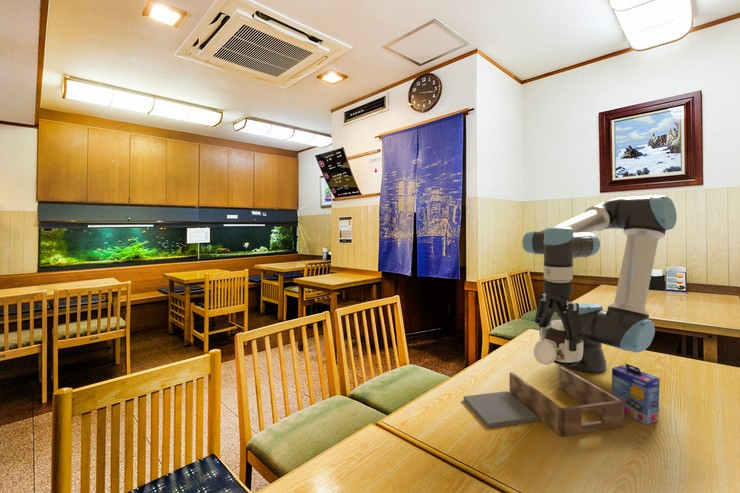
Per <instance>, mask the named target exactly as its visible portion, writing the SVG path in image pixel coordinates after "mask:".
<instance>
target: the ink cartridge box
mask: <svg viewBox="0 0 740 493" xmlns="http://www.w3.org/2000/svg"><path fill="white" fill-rule="evenodd" d="M660 381H661V380H660V378H659V377H658V376H655V375H652V374H650V373H647V372H644V371H641V370H640V368H639V367H638V366H633V365H631V364H628V363H625V365H624V364H623V365H619V366H615V367H613V368H611V394H612V395H613V396H615V397H617V398H619V399H621V400H622V401H624V415H626V416H628V417H630V418H632V419H634V420H636V421H639V422H640V423H641V424H644V425H649V424H652V423H655V422H658V421H659V412H660V403H659V402H660Z"/></svg>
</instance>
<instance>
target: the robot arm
mask: <svg viewBox="0 0 740 493" xmlns="http://www.w3.org/2000/svg"><path fill="white" fill-rule="evenodd" d="M677 216H678V215H677V210H676V206H675V203H674V202H673V200H672V199H671V198H670V197H669V196H668V195H655V194H651V195H642V196H641V195H640V196H628V197H624V196H623V197H616V198H615V197H614V198H611V199H608V200H605V201H603V202H599V203H597V204H594V205H592V206H590V207H588V208H587V209H586V210H584V212H583V213H581V214H580V213H579V214H577V215H576V216H572V217H571V218H570V219H566V220H564V221H562V222H559V223H557V224H555V225H553V226H551V227H547V228H545V229H544V230H540V231H528V232H526V233H525V234H524V235H523V238H522V242H521V243H522V248H523V250H524V251H525V252H526V253H529V254H534V255H542V256H543V279H544V280H543V287H542V288H543V289H542V290H543V293H540V294H538V303H537V304H538V305H537V308H536V313H535V318H534V323H535V324H537V325H538V327H539V339H540V340H539V341H541V340H544V337H545V333H546V332H547V330H548V329H549V328H551V324H550V323H551V321H552V320H551V319H552V318H553V315H554V313H557V316H558V317H559V318H560V320H562V323H563V326H564V329H565V332H566V335H567V338H566V339H565V362H573V361H575V351H576V350H577V348H576V347H577V340H579V339H583V356H582V359H581V361H580V362H579V363H577V364H575V365H572V366H565V367H567V368H569V369H571V370H575V371H578V372H583V373H584V372H585V373H602V372H605V371H606V370H607V365H608V364H607V360H606V357H605V354H604V351H603V348H602V344H603V345H606V346H609V347H613V348H616V349H619V350H622V351H628V352H631V353H637V354H638V353H642V352H644V351H645V350H646V349H647V348H649V347H650V345H651V343H652V342H653V339H654V337H655V333H656V328H655V327H656V326H655V323H654V322H653V321H652V320H651V319H649V317H650V313H648V311H647V310H646V305H647V304H646V303H647V299H648V294H649V289H650V283H651V278H652V273H653V268H654V264H655V263H654V262H655V258H656V252H657V248H658V243H659V240H661V239H662V238H665V235H666V231H670V230H673V229H674V228H675V226H676V223H677ZM608 229H609V230H610V229H612V230H613V229H618V230H621V229H622V231H623V232H622V233H624V234H625V235H626V243H625V248H624V251H623V258H622V262H621V267H620V272H619V276H618V282H617V287H616V291H615V297H614V301H613V302H612V303H611V304H609V305H608V306H607V308H606V309H607V310H604V308H603V305H601V304H598V303H589V302H587V303H586V302H585V303H578V302H571V299H570V296H571V295H572V294H573V284H574V283H573V282H572V280H574V279H573V278H574V264H573V263H574V259H579V258H589V257H591V256H594V255H596V254H598V252H599V251H600V248H601V242H600V241H601V240H600V239H599V237H598V236H597V234H595V233H593V232H601V231H604V230H608ZM571 334H572V335H571Z"/></svg>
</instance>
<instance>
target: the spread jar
mask: <svg viewBox="0 0 740 493" xmlns="http://www.w3.org/2000/svg"><path fill="white" fill-rule="evenodd" d="M571 335H572V334H571ZM566 338H567V335H566V332H565V329H564V326H563V323H562V320H561V319H553V320H550V328H549V329H548V330H547V332H546V333H545V337H544V340H541V341H540V340H539V341H537V342H536V344H535V345H534V347H533V356H534V359H535V360H536V361H537V363H539V364H542V365H552V364H553V363H554V364H556V365H559V366H565V367H566V366H572V365H575V364H577V363H579V362H580V361H581V359H582V356H583V339H579V340H577V347H576V348H577V350H576V351H575V361H573V362H565V339H566Z"/></svg>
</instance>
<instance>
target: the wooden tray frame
mask: <svg viewBox="0 0 740 493" xmlns="http://www.w3.org/2000/svg"><path fill="white" fill-rule="evenodd" d="M558 369H559V370H558V373H559V374H558V388H559V389H560V390H562V391H563V392H565V393H567V394H568V395H570V396H571V397H573V398H575V399H576V400H577V401H579V402H580V403H581V404H580V405H573V406H566V407H565V406H564V407H562V406H560V405H558V404H557V402H555V401H553V400H552V399H550V398H549V397H548V396H546V395H545V394H544V393H542V392H541V391H539V390H538V389H536V388H535V387H533V385H531V384H530V383H528V382H527V381H526V380H524V379H523V378H521V377H520V376H518V375H517V374H516V373H514V372H513V371H510V372H509V382H508V383H509V385H508V386H509V390H508V392H509V393H510V394H512V395H513V396H514V397H515V398H516V399H518V400H519V401H520V402H521V403H522V404H524V405H525V406H526V407H527V408H528V409H530V410H531V411H532V412H533V413H535V414H536V415H537V416H538V420H540V421H542V423H544V424H545V425H546V426H547V427H548V428H550V429H551V430H552V431H554V432H555V433H556V434H557V435H559V437H567V436H573V435H579V434H585V433H593V432H599V431H606V430H611V429H618V428H624V426H625V425H624V423H625V414H624V401H622V400H621V399H619V398H617V397H615V396H613V395H612V393H611V392H610V393H609V391H606V390H605V389H602V388H601V387H599V386H597V385H595V384H594V383H592V382H590V381H589V380H586V379H585V378H583V377H581V376H579V375H578V374H576V373H575V372H572V371H570V370H569V369H567V368H565V367H563V366H559V367H558ZM586 411H594V412H596V413H597V414H599V415H600V416H601V419H600V420H597V421H596V420H595V421H590V422H589V421H587V422H583V423H582V417H583V415H582V413H583V412H586Z"/></svg>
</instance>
